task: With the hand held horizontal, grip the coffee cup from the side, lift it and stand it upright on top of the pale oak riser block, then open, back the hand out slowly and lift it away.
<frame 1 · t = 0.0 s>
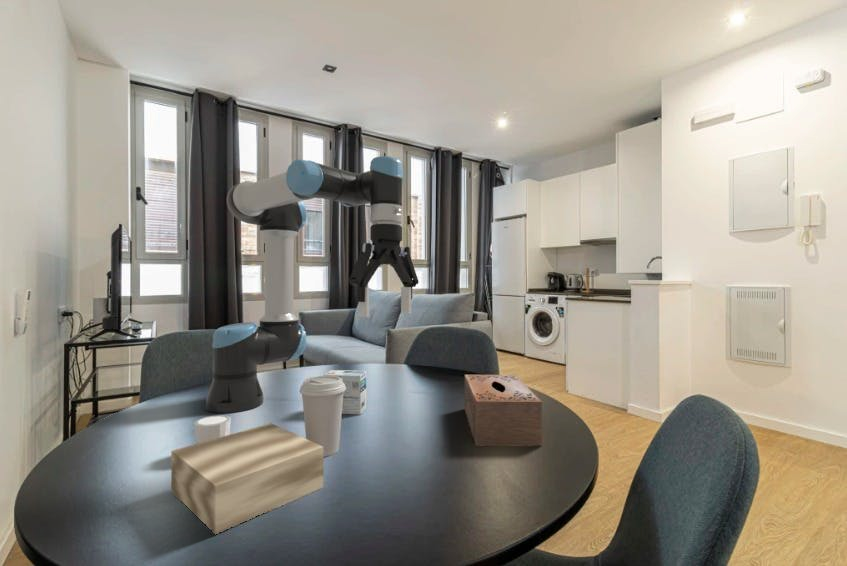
hand: (386, 315, 95), 28 cm above the table, tool pointing down, fingers open, 13 cm apart
tissue box cover: (498, 427, 101), on the table
light bulb box: (345, 411, 113), on the table
shot glass: (212, 454, 84), on the table
riser block: (248, 489, 70), on the table
coffee cup: (323, 451, 86), on the table
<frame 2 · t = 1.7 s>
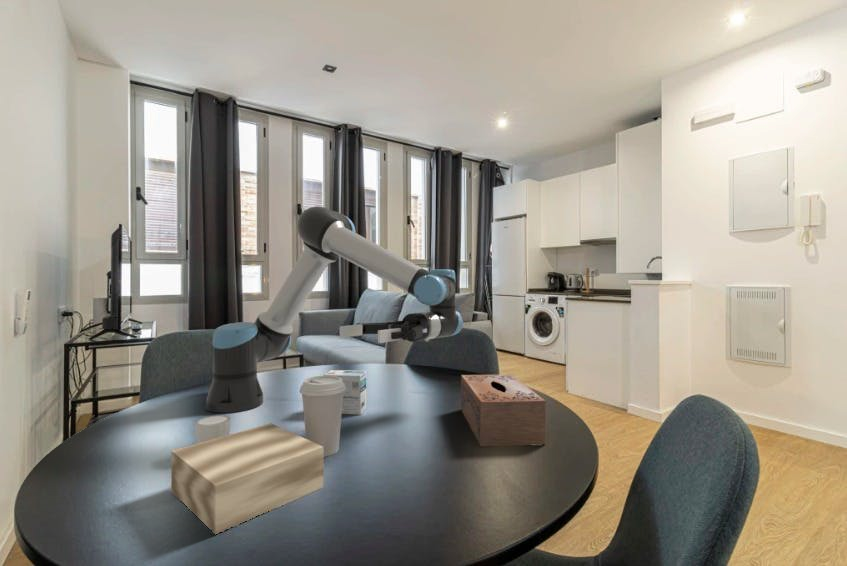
hand: (358, 334, 93), 24 cm above the table, tool horizontal, fingers open, 13 cm apart
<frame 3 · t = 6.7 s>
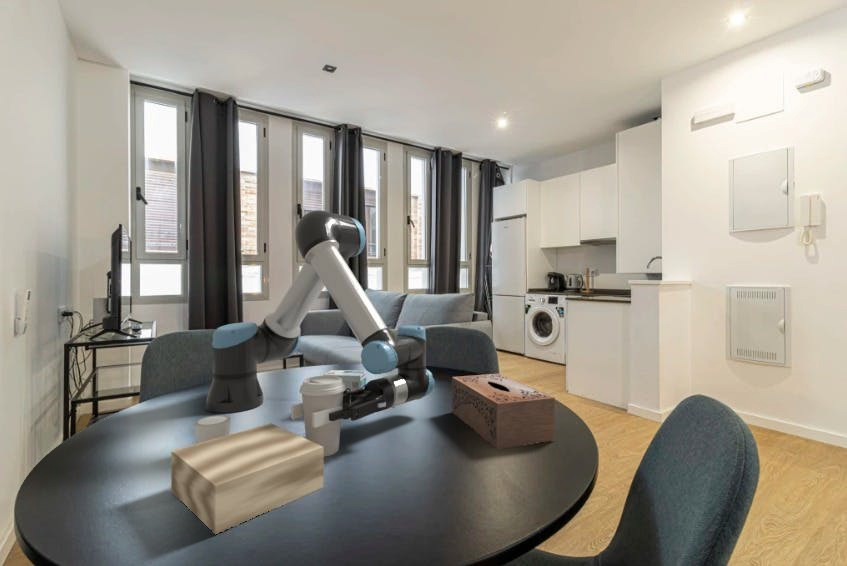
hand: (302, 416, 82), 9 cm above the table, tool horizontal, fingers closed on coffee cup, 7 cm apart
coffee cup: (322, 451, 86), on the table, touching gripper
when the fingers open (16 cm above the table, at t = 12.8 s): coffee cup stays where it is, resting on riser block.
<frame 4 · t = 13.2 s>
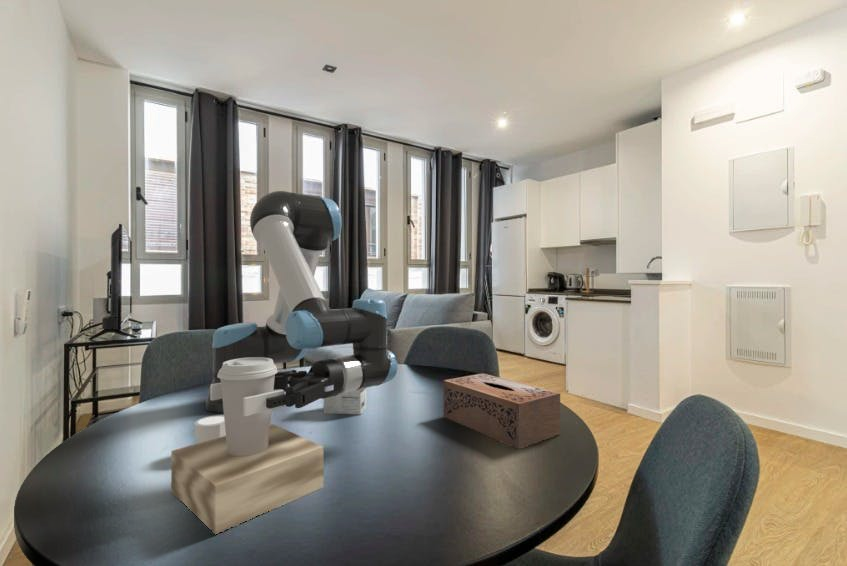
hand: (226, 399, 67), 16 cm above the table, tool horizontal, fingers open, 12 cm apart
coffee cup: (248, 449, 70), point 7 cm above the table, touching riser block
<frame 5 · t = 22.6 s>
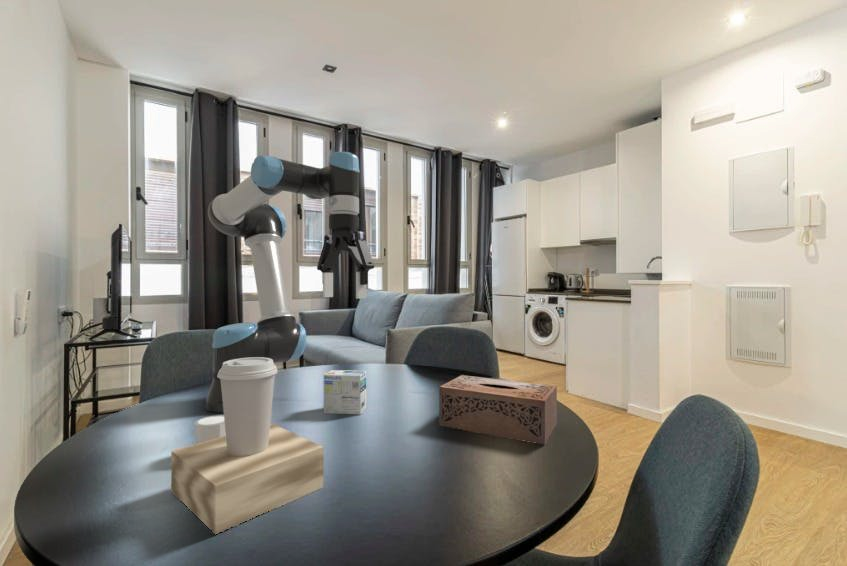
hand: (343, 297, 103), 32 cm above the table, tool pointing down, fingers open, 13 cm apart
at the end: coffee cup inside the target area on the riser block (0.2 cm from its centre), point 6.8 cm above the riser block's base; coffee cup tilted 0°; the gripper is holding nothing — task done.
